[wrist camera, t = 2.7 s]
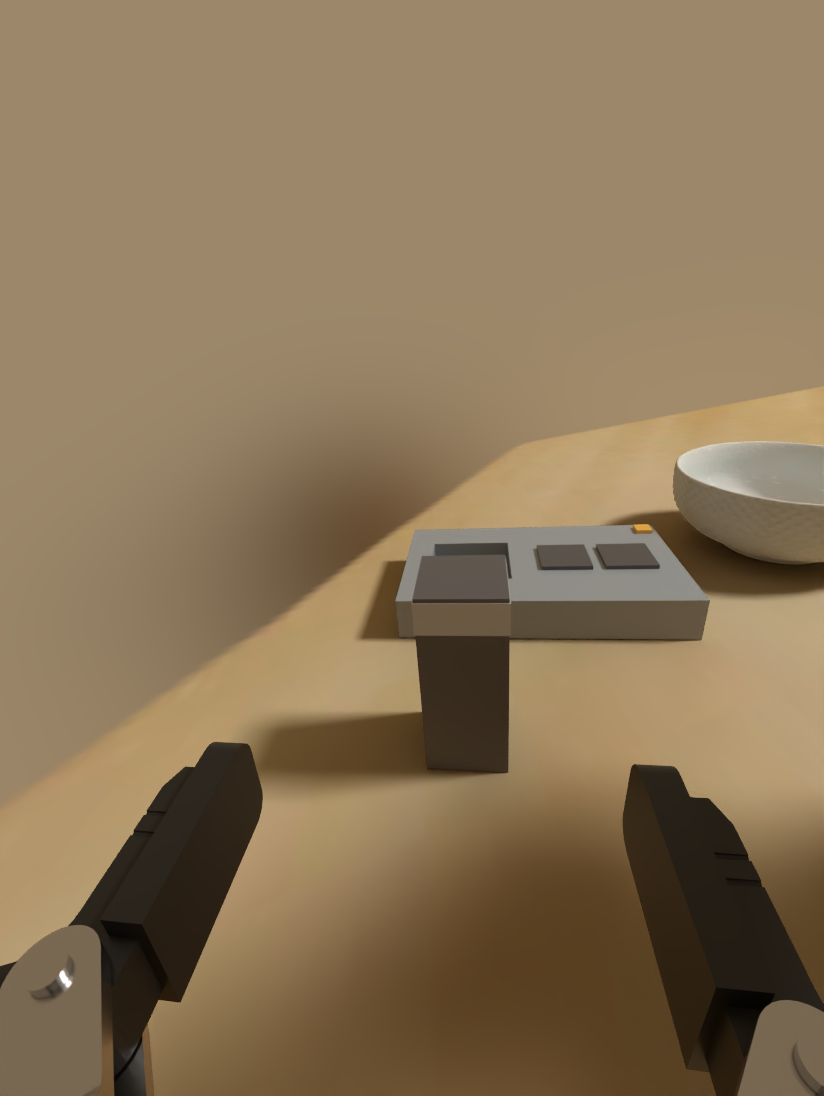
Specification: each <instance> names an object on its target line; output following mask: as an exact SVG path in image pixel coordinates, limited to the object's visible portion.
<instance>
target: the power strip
mask: <svg viewBox="0 0 824 1096" xmlns="http://www.w3.org/2000/svg"><path fill="white" fill-rule="evenodd" d="M449 555H505V558H506V563H507V572H508V581H509V590H510V599H511V636H509V638H540V639H678V640H702V635H703V631H704V626H705V621H706V616H707V612H708V607H709V602H710V600H709V599H708V597H707V596H706V595H705V594H704V592H703V591H702V590H701V588H700V587H699V586H698V585H697V583H696V582H695V581H694V579H693V578H692V577H691V576H690V574H689V573H688V572H687V570H686V569H685V568H684V567H683V565H682V564H681V563H680V561H679V560H678V559H677V558H676V556H675V555H674V554H673V552H672V551H671V550H670V549H669V547H668V546H667V545H666V544H665V542H664V541H663V540H662V538H661V537H660V536H659V535H658V533H657V532H656V531H655V529H654V528H653V527H652V526H651V525H649V524H637V525H611V526H567V527H523V528H480V529H436V530H415V532H414V535H413V539H412V543H411V546H410V550H409V554H408V557H407V561H406V564H405V568H404V572H403V575H402V579H401V583H400V586H399V590H398V593H397V597H396V601H395V603H396V612H397V622H398V631H399V637H401V638H416V636H414V629H413V618H412V607H411V603H412V598H413V594H414V589H415V584H416V580H417V575H418V571H419V566H420V562H421V557H422V556H449Z"/></svg>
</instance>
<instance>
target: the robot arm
mask: <svg viewBox="0 0 824 1096" xmlns="http://www.w3.org/2000/svg"><path fill="white" fill-rule="evenodd" d="M262 800H263V795H262V789H261V785H260V781H259V777H258V774H257V770H256V766H255V762H254V759H253V755H252V751H251V748H250V746H249V745H248V744H244V743H224V742H213V743H211V744H210V745H209V746H208V747H207V748H206V750H205V751H204V753H203V755H202V756H201V758H200V759H199V761H198V763H197V764H196V766H195V767H184V768H183V769H182V770H181V771H180V772H179V773H177V774H176V775H175V776H174V777H173V778H172V779H171V780H170V781H168V782H167V783H166V784H165V785H164V786H163V787H162V788H161V790H160V791H159V793H158V794H157V796H156V797H155V799H154V800H153V802H152V804H151V805H150V807H149V808H148V810H147V814H146V815H144V816H143V817H142V819H141V820H140V822H139V823H138V825H137V826H136V828H135V829H134V833H133V835H130V837H129V838H128V840H127V841H126V843H125V844H124V846H123V847H122V849H121V850H120V852H119V853H118V855H117V856H116V858H115V859H114V861H113V862H112V864H111V865H110V867H109V868H108V870H107V871H106V873H105V874H104V876H103V877H102V879H101V880H100V882H99V883H98V885H97V886H96V888H95V889H94V891H93V892H92V894H91V895H90V897H89V898H88V900H87V901H86V903H85V904H84V906H83V908H82V909H81V911H80V912H79V913H78V915H77V916H76V917H75V919H74V920H73V921H72V922H71V924H70V925H69V926H68V927H64V928H61V929H59V930H57V931H54V932H52V933H51V934H49V935H47V936H45V937H44V938H43V939H41V940H40V941H38V942H37V943H36V944H34V945H33V946H32V947H31V948H30V949H29V950H28V951H27V952H26V953H25V954H24V955H23V956H22V957H21V958H20V959H19V960H18V961H16V962H13V963H10V964H6V965H3V966H0V1096H154V1087H153V1074H152V1061H151V1048H150V1036H149V1028H148V1024H147V1023H148V1021H149V1019H150V1017H151V1015H152V1012H153V1010H154V1008H155V1006H156V1004H157V1002H158V1000H165V1001H173V1002H181V1000H182V997H183V995H184V993H185V990H186V988H187V986H188V983H189V981H190V979H191V977H192V974H193V972H194V970H195V967H196V965H197V963H198V960H199V958H200V956H201V953H202V951H203V949H204V946H205V944H206V942H207V939H208V937H209V935H210V932H211V930H212V928H213V925H214V923H215V921H216V918H217V916H218V914H219V912H220V909H221V907H222V905H223V902H224V900H225V898H226V895H227V893H228V891H229V888H230V886H231V884H232V881H233V879H234V877H235V874H236V872H237V870H238V867H239V865H240V863H241V860H242V858H243V856H244V853H245V851H246V849H247V847H248V844H249V842H250V840H251V837H252V835H253V833H254V830H255V828H256V826H257V823H258V821H259V818H260V814H261V809H262ZM623 834H624V841H625V846H626V851H627V855H628V858H629V862H630V865H631V869H632V873H633V876H634V880H635V884H636V887H637V891H638V895H639V898H640V902H641V905H642V909H643V913H644V916H645V920H646V924H647V927H648V931H649V935H650V938H651V942H652V946H653V949H654V953H655V956H656V960H657V964H658V967H659V971H660V975H661V978H662V982H663V986H664V989H665V993H666V996H667V1000H668V1004H669V1007H670V1011H671V1015H672V1018H673V1022H674V1026H675V1029H676V1033H677V1036H678V1040H679V1044H680V1047H681V1051H682V1055H683V1058H684V1062H685V1066H686V1069H689V1070H697V1071H705V1072H710V1075H711V1079H712V1082H713V1085H714V1089H715V1092H716V1095H717V1096H824V1004H823V1002H822V1001H821V999H820V997H819V996H818V994H817V992H816V990H815V988H814V986H813V984H812V982H811V980H810V978H809V976H808V974H807V972H806V970H805V968H804V966H803V964H802V962H801V960H800V958H799V956H798V954H797V952H796V950H795V948H794V946H793V944H792V942H791V940H790V938H789V936H788V934H787V932H786V930H785V928H784V926H783V924H782V922H781V920H780V918H779V916H778V914H777V912H776V910H775V908H774V906H773V904H772V902H771V900H770V898H769V896H768V894H767V892H766V890H765V888H764V887H762V885H761V880H760V878H759V876H758V874H757V872H756V870H755V868H754V866H753V863H752V861H749V858H748V853H747V851H746V849H745V847H744V845H743V843H742V841H741V839H740V837H739V835H738V833H737V831H736V829H735V827H734V825H733V824H732V823H731V822H730V821H729V820H728V819H727V817H726V816H725V815H724V814H723V813H722V812H721V811H720V810H719V809H718V808H717V807H716V806H715V805H714V804H713V803H712V801H711V800H710V799H709V798H693V797H690V796H689V794H688V792H687V789H686V787H685V785H684V782H683V780H682V778H681V776H680V774H679V772H678V770H677V769H676V768H675V767H673V766H656V765H636V764H634V765H633V766H632V768H631V771H630V777H629V783H628V789H627V795H626V801H625V806H624V812H623Z"/></svg>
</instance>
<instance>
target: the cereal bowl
mask: <svg viewBox="0 0 824 1096" xmlns="http://www.w3.org/2000/svg"><path fill="white" fill-rule="evenodd" d="M673 477H674V478H673V489H674V490H673V494H674V500H675V501H676V505H677V507H678V508H679V511H680V513H681V514H682V515H683V517H684V518H685V519H686V520H687V522H688V523H690V524H691V525H692V527H694V528H695V529H696V530H697V531H699V532H701V533H702V534H703V535H705V536H708V537H709V538H711V539H714V540H715V541H717V542H720V543H722V544H724V545H725V546H726V547H728V548H729V549H731V550H733V551H735V552H737V553H739V554H742V555H744V556H747V557H750V558H754V559H757V560H762V561H766V562H772V563H779V564H792V565H801V564H811V563H816V562H824V446H822V445H813V444H803V443H790V442H769V441H751V442H731V443H721V444H714V445H707V446H703V447H699V448H696V449H693V450H690V451H688V452H686V453H684V454H682V455H681V456H680V457H679V458H678V459H677V461H676V464H675V469H674V476H673Z"/></svg>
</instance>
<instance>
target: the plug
mask: <svg viewBox="0 0 824 1096" xmlns="http://www.w3.org/2000/svg"><path fill="white" fill-rule="evenodd" d="M411 607H412V618H413V629H414V636H416V647H417V658H418V669H419V681H420V692H421V703H422V714H423V725H424V736H425V748H426V759H427V769H441V770H464V771H487V772H508V735H509V636H511V599H510V590H509V581H508V572H507V563H506V558H505V555H449V556H422V557H421V562H420V566H419V571H418V575H417V580H416V584H415V589H414V594H413V598H412V603H411Z"/></svg>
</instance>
